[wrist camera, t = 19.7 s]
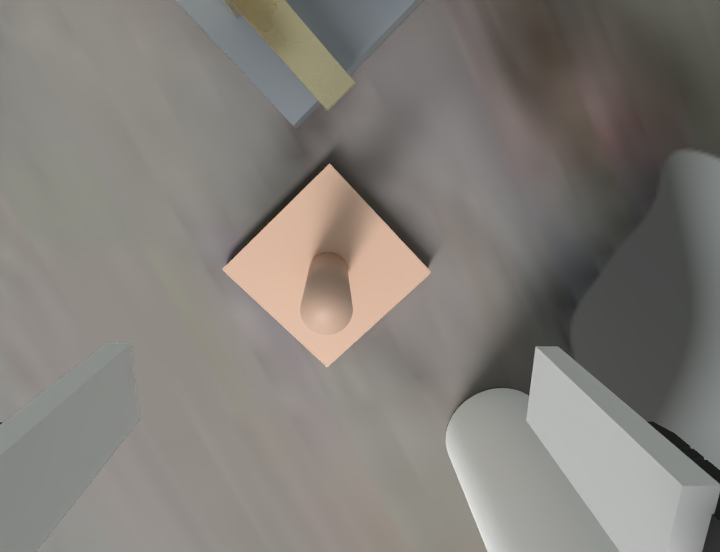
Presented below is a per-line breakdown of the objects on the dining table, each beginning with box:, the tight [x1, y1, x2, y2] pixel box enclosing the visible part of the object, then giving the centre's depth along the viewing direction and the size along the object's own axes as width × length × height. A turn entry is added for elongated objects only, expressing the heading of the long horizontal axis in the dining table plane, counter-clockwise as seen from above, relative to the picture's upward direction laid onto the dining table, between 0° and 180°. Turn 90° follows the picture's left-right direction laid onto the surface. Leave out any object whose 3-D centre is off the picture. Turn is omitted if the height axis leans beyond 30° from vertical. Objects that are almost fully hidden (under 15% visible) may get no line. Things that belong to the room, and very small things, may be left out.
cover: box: [222, 163, 431, 367], centre depth 27 cm, size 10×10×10 cm
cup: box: [446, 388, 620, 552], centre depth 28 cm, size 8×8×16 cm
